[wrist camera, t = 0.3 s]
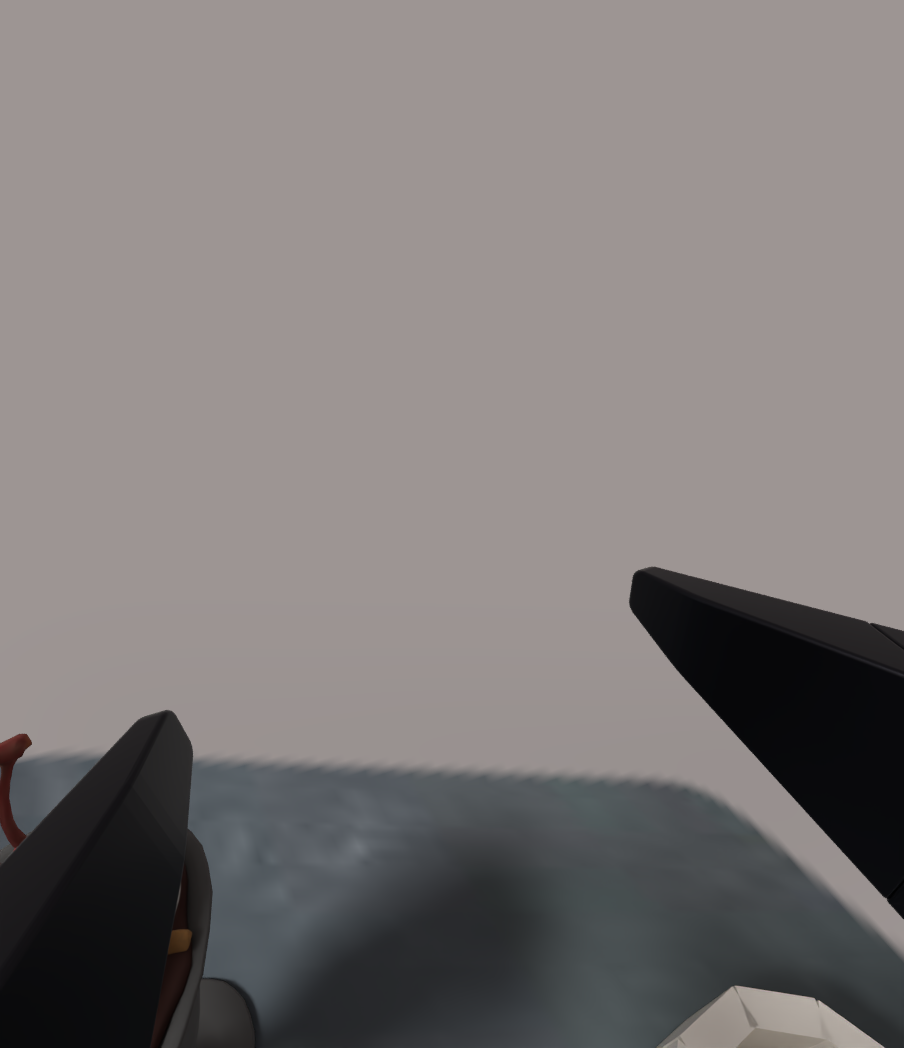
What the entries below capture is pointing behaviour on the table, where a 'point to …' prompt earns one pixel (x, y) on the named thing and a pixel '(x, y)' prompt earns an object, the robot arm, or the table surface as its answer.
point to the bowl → (766, 1024)
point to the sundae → (185, 999)
